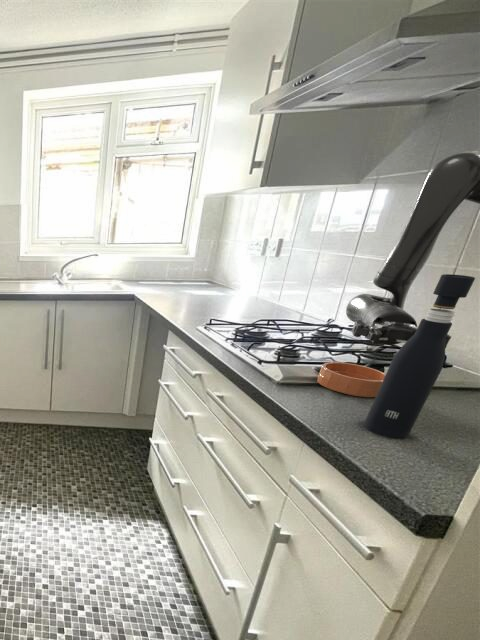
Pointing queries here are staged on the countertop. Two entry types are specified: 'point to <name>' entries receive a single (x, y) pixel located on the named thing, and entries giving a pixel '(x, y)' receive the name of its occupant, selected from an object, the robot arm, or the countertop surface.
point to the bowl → (351, 379)
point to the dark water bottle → (416, 364)
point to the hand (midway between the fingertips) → (406, 342)
